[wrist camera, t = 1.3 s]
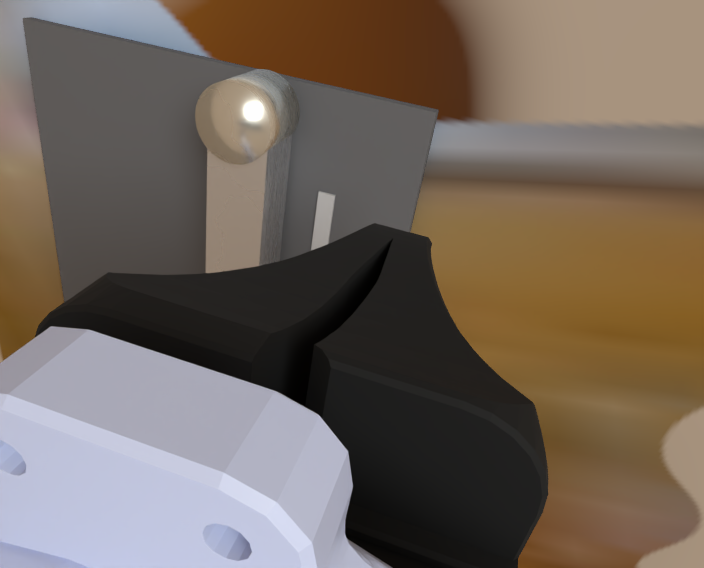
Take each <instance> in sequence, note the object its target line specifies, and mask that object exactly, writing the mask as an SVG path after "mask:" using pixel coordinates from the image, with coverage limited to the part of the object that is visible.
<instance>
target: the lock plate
mask: <svg viewBox="0 0 704 568" xmlns="http://www.w3.org/2000/svg"><path fill="white" fill-rule="evenodd" d="M23 24H24V31H25V38H26V45H27V52H28V58H29V65H30V72H31V79H32V86H33V92H34V99H35V106H36V113H37V120H38V126H39V133H40V140H41V147H42V153H43V160H44V167H45V174H46V181H47V187H48V194H49V201H50V208H51V215H52V221H53V228H54V235H55V242H56V249H57V255H58V262H59V269H60V276H61V283H62V289H63V296H64V303H65V302H66V301H67V300H69V299H70V298H72V297H73V296H75V295H76V294H77V293H79V292H80V291H82V290H83V289H85V288H86V287H87V286H89V285H90V284H92V283H93V282H95V281H96V280H97V279H99V278H100V277H102V276H103V275H105V274H106V273H108V272H112V273H130V274H155V275H179V274H201V273H206V208H207V147H206V146H205V144H204V143H203V141H202V140H201V138H200V136H199V133H198V130H197V127H196V122H195V110H196V105H197V102H198V99H199V97H200V95H201V94H202V92H203V91H204V90H205V89H206V88H208V87H209V86H210V85H212V84H214V83H217V82H220V81H223V80H226V79H229V78H232V77H235V76H238V75H241V74H244V73H247V72H250V71H253V70H257V69H256V68H252V67H247V66H243V65H238V64H234V63H230V62H224V61H221V60H216V59H212V58H207V57H203V56H199V55H194V54H190V53H185V52H181V51H177V50H172V49H168V48H163V47H159V46H155V45H150V44H146V43H141V42H137V41H133V40H128V39H124V38H119V37H115V36H111V35H106V34H102V33H97V32H93V31H89V30H84V29H80V28H75V27H71V26H67V25H62V24H58V23H53V22H49V21H45V20H40V19H36V18H23ZM279 75H281V76H282V77H283V78H285V79H286V80H287V81H288V82H289V83H290V85H291V86H292V88H293V89H294V91H295V93H296V95H297V98H298V101H299V106H300V117H299V122H298V125H297V128H296V130H295V131H294V133H293V134H292V141H291V151H290V161H289V172H288V182H287V192H286V203H285V213H284V223H283V234H282V244H281V255H280V261H282V260H285V259H289V258H292V257H295V256H298V255H301V254H303V253H306V252H309V251H311V250H314V249H317V248H319V247H322V246H325V245H327V244H330V243H332V242H334V241H336V240H338V239H341V238H343V237H345V236H347V235H349V234H352V233H354V232H356V231H358V230H360V229H362V228H364V227H366V226H368V225H371V224H373V223H376V224H380V225H384V226H388V227H391V228H395V229H399V230H403V231H406V232H410V231H411V227H412V223H413V218H414V214H415V210H416V205H417V201H418V197H419V193H420V188H421V184H422V180H423V175H424V171H425V167H426V162H427V158H428V154H429V150H430V145H431V141H432V137H433V132H434V128H435V124H436V120H437V115H438V110H437V109H432V108H428V107H423V106H419V105H414V104H410V103H406V102H401V101H397V100H392V99H388V98H384V97H379V96H375V95H370V94H366V93H361V92H357V91H352V90H348V89H344V88H340V87H335V86H331V85H326V84H322V83H317V82H313V81H309V80H304V79H300V78H296V77H291V76H287V75H282V74H279Z"/></svg>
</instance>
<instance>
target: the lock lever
mask: <svg viewBox="0 0 704 568" xmlns="http://www.w3.org/2000/svg"><path fill="white" fill-rule="evenodd" d="M299 117H300V106H299V101H298V98H297V95H296V93H295V91H294V89H293V88H292V86H291V85H290V83H289V82H288V81H287V80H286V79H285V78H283V77H282V76H281V75H279V74H278V73H275V72H273V71H270V70H266V69H257V70H253V71H250V72H247V73H244V74H241V75H238V76H235V77H232V78H229V79H226V80H223V81H220V82H217V83H214V84H212V85H210V86H209V87H208V88H206V89H205V90H204V91H203V92H202V94H201V95H200V97H199V99H198V102H197V105H196V110H195V122H196V127H197V130H198V133H199V136H200V138H201V140H202V141H203V143H204V144H205V146H206V147H207V208H206V273H215V272H223V271H230V270H237V269H243V268H250V267H256V266H261V265H265V264H270V263H274V262H278V261H280V255H281V244H282V234H283V223H284V213H285V203H286V192H287V182H288V172H289V161H290V151H291V141H292V134H293V133H294V131H295V130H296V128H297V125H298V122H299Z"/></svg>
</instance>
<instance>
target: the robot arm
mask: <svg viewBox="0 0 704 568" xmlns="http://www.w3.org/2000/svg"><path fill="white" fill-rule="evenodd" d="M431 246H432V243H431V241H430V239H429V238H428V237H425V236H421V235H417V234H414V233H410V232H406V231H403V230H399V229H395V228H391V227H388V226H384V225H380V224H376V223H373V224H371V225H368V226H366V227H364V228H362V229H360V230H358V231H356V232H354V233H352V234H349V235H347V236H345V237H343V238H341V239H338V240H336V241H334V242H332V243H330V244H327V245H325V246H322V247H319V248H317V249H314V250H311V251H309V252H306V253H303V254H301V255H298V256H295V257H292V258H289V259H285V260H282V261H278V262H274V263H270V264H265V265H261V266H256V267H250V268H243V269H237V270H230V271H223V272H215V273H201V274H179V275H155V274H130V273H112V272H108V273H106V274H105V275H103V276H102V277H100V278H99V279H97V280H96V281H95V282H93V283H92V284H90V285H89V286H87V287H86V288H85V289H83V290H82V291H80V292H79V293H77V294H76V295H75V296H73V297H72V298H70V299H69V300H67V301H66V302H65V303H63V304H62V305H60V306H59V307H57V308H56V309H54V310H53V311H52V312H50V313H49V314H48V315H47V316H46V317H45V319H44V320H43V321H42V322H41V323H40V324H39V326H38V329H37V332H36V335H35V338H34V339H33V340H31V341H30V342H28V343H27V344H26V345H24V346H23V347H21V348H20V349H19V350H17V351H16V352H15V353H13V354H12V355H10V356H9V357H8V358H6V359H5V360H4V361H2V362H1V363H0V568H518V557H519V555H520V554H521V552H522V550H523V548H524V546H525V544H526V542H527V540H528V539H529V537H530V535H531V533H532V531H533V529H534V527H535V526H536V524H537V522H538V520H539V518H540V516H541V514H542V512H543V509H544V506H545V502H546V499H547V496H548V469H547V460H546V453H545V448H544V443H543V438H542V433H541V428H540V424H539V420H538V416H537V412H536V409H535V405H534V404H533V402H532V401H530V400H529V399H528V398H526V397H525V396H524V395H523V394H521V393H520V392H519V391H518V390H516V389H515V388H514V387H512V386H511V385H510V384H509V383H507V382H506V381H505V380H503V379H502V378H501V377H500V376H499V375H498V374H497V373H496V372H495V371H494V370H493V369H492V368H491V367H489V366H488V365H487V364H486V363H485V362H484V361H483V360H482V359H481V357H480V356H479V355H478V354H477V353H476V352H475V351H474V350H473V349H472V347H471V346H470V345H469V343H468V342H467V341H466V340H465V338H464V337H463V336H462V334H461V333H460V332H459V330H458V329H457V327H456V325H455V323H454V322H453V320H452V318H451V316H450V314H449V312H448V310H447V308H446V306H445V304H444V301H443V298H442V296H441V293H440V291H439V288H438V285H437V281H436V278H435V274H434V270H433V266H432V260H431Z"/></svg>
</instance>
